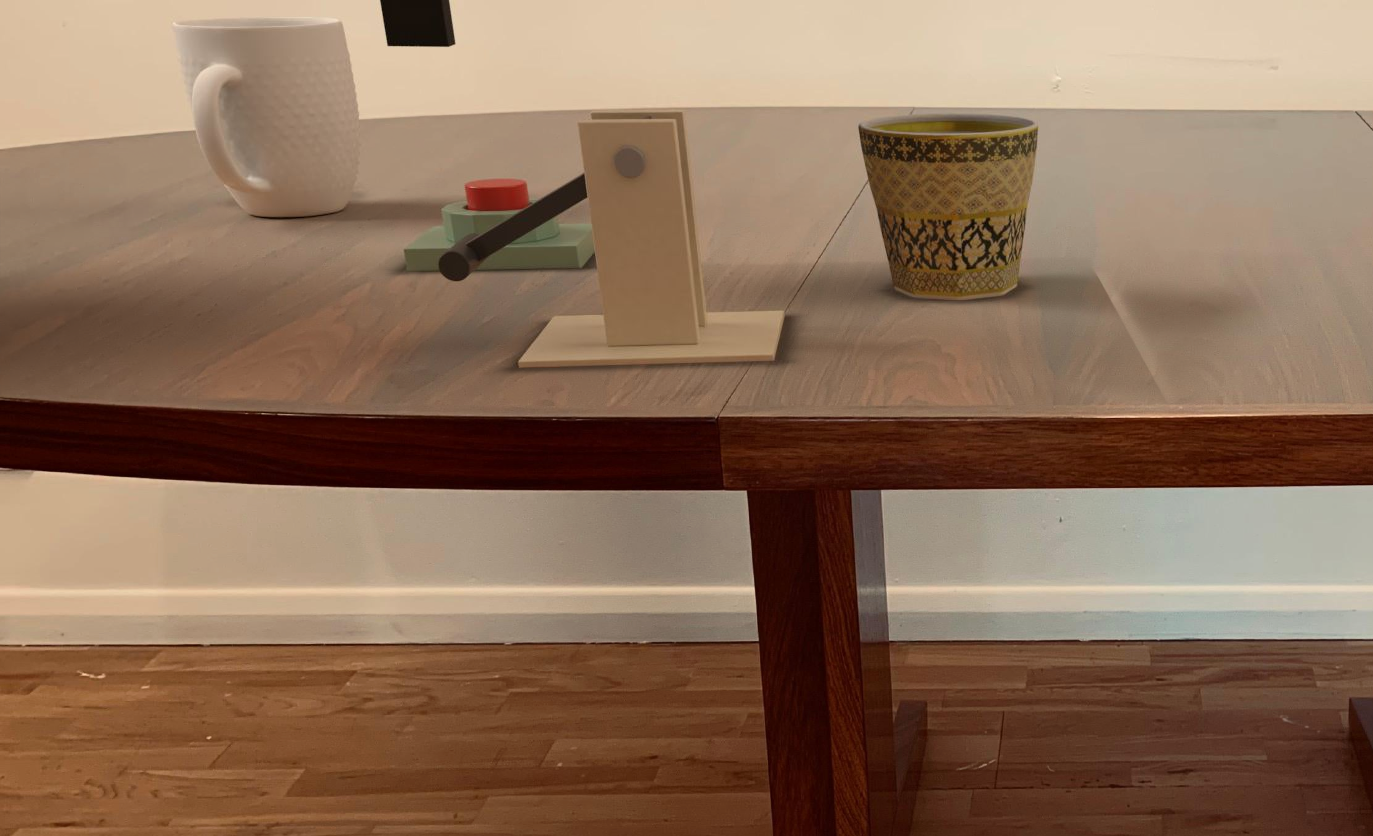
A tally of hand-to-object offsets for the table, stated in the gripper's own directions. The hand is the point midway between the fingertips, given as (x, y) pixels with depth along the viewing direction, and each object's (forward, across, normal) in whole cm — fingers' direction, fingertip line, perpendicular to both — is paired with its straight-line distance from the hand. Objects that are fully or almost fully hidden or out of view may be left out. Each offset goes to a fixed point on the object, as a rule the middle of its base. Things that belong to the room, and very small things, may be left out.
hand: (421, 44), depth 81 cm
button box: (+15, +24, +3) cm, 28 cm away
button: (+12, +24, +3) cm, 27 cm away
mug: (+16, +48, +23) cm, 55 cm away
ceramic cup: (+15, +13, -25) cm, 32 cm away
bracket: (+15, 0, -9) cm, 18 cm away
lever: (+8, 0, -6) cm, 10 cm away
